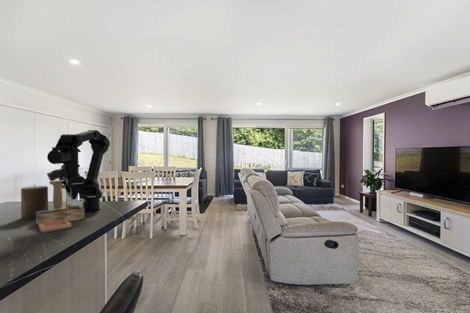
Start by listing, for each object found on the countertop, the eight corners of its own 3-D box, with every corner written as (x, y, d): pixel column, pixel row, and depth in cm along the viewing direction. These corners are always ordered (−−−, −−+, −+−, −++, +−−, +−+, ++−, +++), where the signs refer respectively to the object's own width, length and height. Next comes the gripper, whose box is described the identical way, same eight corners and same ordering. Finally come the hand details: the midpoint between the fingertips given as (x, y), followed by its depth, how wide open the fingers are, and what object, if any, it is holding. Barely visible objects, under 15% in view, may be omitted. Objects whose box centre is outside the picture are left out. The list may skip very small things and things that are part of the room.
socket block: (79, 215, 118) (79, 205, 118) (84, 218, 112) (84, 208, 112) (36, 222, 106) (36, 211, 106) (39, 226, 101) (39, 215, 101)
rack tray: (65, 223, 105) (65, 219, 105) (71, 228, 99) (71, 223, 99) (38, 228, 99) (38, 223, 99) (42, 233, 92) (42, 228, 92)
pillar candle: (42, 219, 112) (42, 185, 111) (16, 220, 109) (16, 186, 109) (51, 214, 121) (51, 182, 121) (27, 215, 118) (27, 183, 118)
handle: (65, 210, 128) (65, 180, 127) (50, 212, 124) (49, 181, 123) (65, 208, 132) (64, 179, 131) (49, 210, 128) (49, 180, 127)
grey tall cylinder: (75, 211, 115) (75, 191, 115) (78, 213, 112) (77, 192, 112) (65, 213, 112) (64, 192, 112) (67, 214, 109) (67, 194, 109)
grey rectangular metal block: (53, 214, 109) (53, 208, 109) (55, 215, 107) (54, 210, 106) (35, 217, 104) (35, 211, 104) (37, 218, 102) (37, 212, 102)
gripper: (44, 162, 112) (45, 197, 113) (52, 164, 99) (53, 203, 100) (73, 161, 120) (74, 194, 121) (84, 163, 107) (85, 199, 108)
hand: (71, 197), depth 112 cm, fingers open, 9 cm apart
